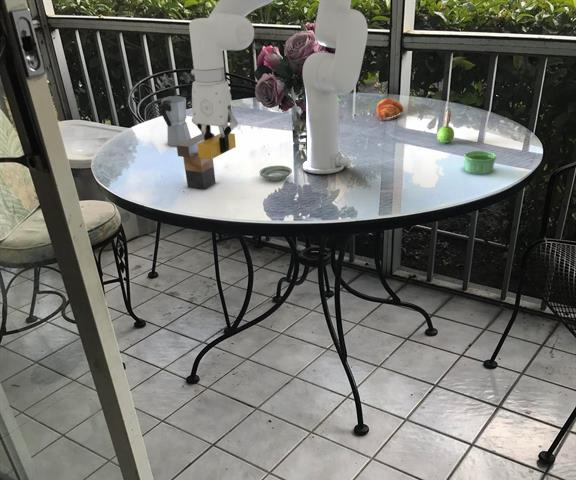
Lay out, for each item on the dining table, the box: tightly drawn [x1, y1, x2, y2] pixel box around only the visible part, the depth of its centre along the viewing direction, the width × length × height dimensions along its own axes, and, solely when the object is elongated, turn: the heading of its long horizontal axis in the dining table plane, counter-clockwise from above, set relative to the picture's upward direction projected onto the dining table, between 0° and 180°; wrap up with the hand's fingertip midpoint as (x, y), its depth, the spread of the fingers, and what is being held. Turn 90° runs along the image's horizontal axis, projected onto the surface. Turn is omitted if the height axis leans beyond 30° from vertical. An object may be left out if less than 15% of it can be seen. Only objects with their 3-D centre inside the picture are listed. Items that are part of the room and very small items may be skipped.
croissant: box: [375, 97, 404, 121], centre depth 233 cm, size 21×10×8 cm, turn 159°
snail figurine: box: [436, 106, 455, 145], centre depth 199 cm, size 5×6×12 cm
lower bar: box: [175, 133, 215, 158], centre depth 173 cm, size 13×4×3 cm, turn 152°
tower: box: [182, 154, 216, 190], centre depth 177 cm, size 6×6×10 cm
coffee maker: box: [160, 87, 192, 148], centre depth 211 cm, size 15×9×18 cm, turn 161°
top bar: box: [197, 132, 237, 160], centre depth 163 cm, size 12×4×4 cm, turn 152°
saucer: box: [258, 165, 293, 182], centre depth 181 cm, size 10×10×2 cm
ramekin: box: [463, 150, 497, 175], centre depth 179 cm, size 9×9×4 cm
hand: (217, 150), depth 164 cm, fingers closed on top bar, 4 cm apart
